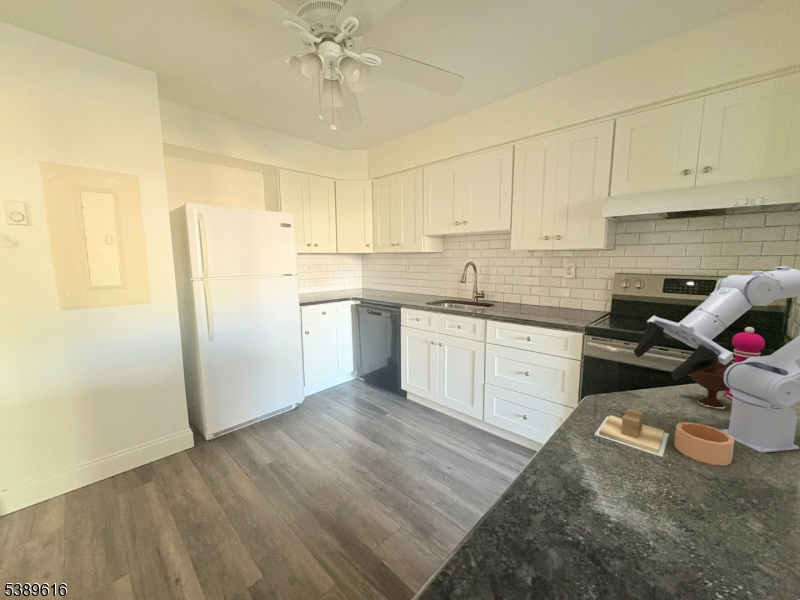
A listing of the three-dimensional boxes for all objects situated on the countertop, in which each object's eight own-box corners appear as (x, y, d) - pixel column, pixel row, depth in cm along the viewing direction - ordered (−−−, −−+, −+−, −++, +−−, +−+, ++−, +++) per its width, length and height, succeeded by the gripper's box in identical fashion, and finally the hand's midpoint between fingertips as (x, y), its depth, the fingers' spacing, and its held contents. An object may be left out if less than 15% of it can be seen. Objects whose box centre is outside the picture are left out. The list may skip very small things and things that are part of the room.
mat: (606, 417, 78) (607, 416, 78) (668, 435, 70) (668, 433, 70) (594, 436, 69) (594, 434, 69) (662, 458, 61) (662, 456, 61)
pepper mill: (769, 405, 84) (779, 330, 81) (736, 403, 85) (746, 329, 83) (744, 394, 91) (753, 324, 88) (715, 392, 92) (723, 324, 90)
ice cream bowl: (754, 416, 78) (762, 356, 76) (700, 412, 80) (707, 353, 78) (720, 398, 88) (726, 344, 87) (673, 394, 91) (679, 343, 89)
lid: (609, 418, 77) (611, 400, 76) (663, 433, 70) (665, 414, 69) (599, 434, 69) (600, 415, 69) (657, 453, 62) (660, 432, 62)
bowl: (697, 441, 67) (700, 421, 67) (743, 465, 59) (746, 442, 59) (664, 444, 66) (666, 423, 66) (705, 469, 58) (708, 446, 58)
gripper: (667, 293, 68) (617, 335, 69) (752, 327, 56) (690, 378, 57) (672, 312, 72) (624, 352, 73) (753, 348, 59) (694, 396, 60)
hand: (653, 365), depth 65 cm, fingers open, 7 cm apart
